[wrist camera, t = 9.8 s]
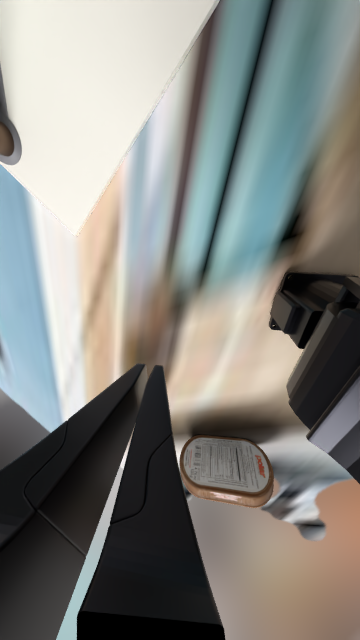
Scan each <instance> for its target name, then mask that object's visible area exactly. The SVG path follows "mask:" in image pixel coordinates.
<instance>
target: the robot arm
mask: <svg viewBox="0 0 360 640" xmlns="http://www.w3.org/2000/svg"><path fill="white" fill-rule="evenodd" d="M290 275H292V277H291V278H290V279H288V277H289V276H290ZM270 314H271V319H270V322H269V327H270V328H271V329H272V330H281V331H283V332H284V334H288V335H289V336H290V337H291V339H292V340H293V341H294V343H295V344H296V345H297V347H298V348H300V349H304V350H303V352H302V354H301V356H300V358H299V360H298V362H297V364H296V366H295V368H294V370H293V372H292V373H291V375H290V377H289V379H288V383H287V386H286V387H287V391H288V395H289V398H290V400H289V405H290V406H291V408H292V409H293V411H294V413H295V414H296V415H297V416H298V417H299V419H300V420H301V421H302V422H303V423H304V424H305V425H306V426H307V427H308V428H309V429H310V431H309V433H308V434H307V435H306V437H307V439H308V440H309V441H310V442H311V443H313V444H314V445H316V446H317V447H319V448H320V449H322V450H323V451H325V452H326V453H328V454H329V455H330V456H331V457H332V458H333V459H334V460H336V461H337V462H338V463H339V464H340V465H341V466H342V467H344V468H345V469H346V470H347V471H348V472H349V473H350V474H351V475H352V476H353V478H354V479H355V480H357V482H358V483H359V484H360V278H359V277H358V276H355V275H343V274H325V273H308V272H287V273H286V274H285V275H284V277H283V281H282V284H281V287H280V290H279V291H278V292H277V293H276V295H275V299H274V302H273V305H272V309H271V312H270ZM273 324H276V325H275V326H272V325H273ZM147 378H148V376H147V367H146V364H140V363H138V364H136V365H135V366H133V367H132V368H131V369H130V370H129V371H127V372H126V373H125V374H124V375H122V376H121V377H120V378H119V379H117V380H116V381H115V382H114V383H112V384H111V385H110V386H109V387H107V388H106V389H105V390H104V391H103V392H101V393H100V394H99V395H98V396H96V397H95V398H94V399H93V400H91V401H90V402H89V403H88V404H86V405H85V406H84V407H83V408H82V409H80V410H79V411H78V412H77V413H75V414H74V415H73V416H72V417H70V418H69V419H68V421H65V422H64V423H63V424H62V425H60V426H59V427H58V428H57V429H55V430H54V431H53V432H52V433H50V434H49V435H48V436H46V437H45V438H44V439H43V440H41V441H40V442H39V443H37V444H36V445H35V446H33V447H32V448H31V449H29V450H28V451H26V452H25V453H24V454H22V455H21V456H20V457H18V458H17V459H15V460H14V461H12V462H11V463H10V464H8V465H7V466H6V467H4V468H3V469H1V470H0V640H56V638H57V635H58V632H59V630H60V627H61V624H62V621H63V619H64V616H65V613H66V611H67V608H68V605H69V602H70V600H71V597H72V594H73V592H74V589H75V586H76V583H77V581H78V578H79V575H80V573H81V570H82V567H83V564H84V562H85V559H86V555H87V553H88V551H89V548H90V545H91V542H92V540H93V537H94V534H95V532H96V529H97V526H98V523H99V521H100V518H101V515H102V513H103V510H104V507H105V504H106V501H107V499H108V496H109V494H110V491H111V488H112V485H113V483H114V480H115V477H116V475H117V472H118V469H119V466H120V464H121V461H122V458H123V456H124V453H125V450H126V447H127V445H128V442H129V439H130V437H131V434H132V431H133V428H134V426H135V428H134V431H133V435H132V439H131V443H130V447H129V451H128V455H127V458H126V462H125V466H124V470H123V474H122V478H121V482H120V486H119V489H118V493H117V498H116V502H115V505H114V509H113V513H112V517H111V521H110V526H109V528H108V532H107V536H106V539H105V543H104V546H103V549H102V552H101V555H100V559H99V562H98V565H97V567H96V570H95V572H94V575H93V578H92V580H91V583H90V585H89V588H88V590H87V593H86V595H85V598H84V600H83V603H82V605H81V608H80V610H79V612H78V615H77V640H225V633H224V628H223V625H222V622H221V619H220V616H219V613H218V610H217V606H216V603H215V600H214V597H213V594H212V591H211V588H210V584H209V581H208V578H207V575H206V571H205V567H204V564H203V561H202V557H201V553H200V549H199V546H198V542H197V538H196V534H195V530H194V526H193V523H192V519H191V515H190V511H189V508H188V504H187V500H186V496H185V492H184V488H183V484H182V480H181V476H180V472H179V467H178V463H177V457H176V451H175V445H174V438H173V431H172V424H171V417H170V410H169V403H168V396H167V388H166V381H165V374H164V367H163V366H160V365H155V366H154V368H153V370H152V372H151V374H150V377H149V379H148V381H147ZM135 423H136V424H135Z"/></svg>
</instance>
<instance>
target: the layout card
mask: <svg viewBox="0 0 360 640" xmlns="http://www.w3.org/2000/svg"><path fill="white" fill-rule="evenodd" d="M219 1H220V0H0V121H1V122H3V123H4V124H5V125H6V126H7V127H8V129H9V130H10V132H11V134H12V137H13V140H14V152H13V154H12V155H11V156H8V157H7V156H3V155H0V164H1V165H2V166H3V167H4V168H5V169H6V170H7V171H8V172H10V173H11V174H12V175H13V176H14V177H15V178H16V179H17V180H18V181H19V182H20V183H21V184H22V185H23V186H24V187H25V188H26V189H27V190H28V191H29V192H30V193H31V194H32V195H33V196H34V197H35V198H36V199H37V200H38V201H39V202H40V203H41V204H42V205H43V206H44V207H45V208H46V209H47V210H48V211H49V212H50V213H51V214H52V215H53V216H54V217H55V218H56V219H57V220H59V221H60V222H61V223H62V224H63V225H64V226H65V227H66V228H67V229H68V230H69V231H70V232H71V233H72V234H73V235H74V236H75V237H78V235H79V233H80V232H81V230H82V228H83V227H84V225H85V223H86V222H87V220H88V218H89V217H90V215H91V213H92V212H93V210H94V208H95V207H96V205H97V203H98V202H99V200H100V198H101V197H102V195H103V193H104V192H105V190H106V189H107V187H108V185H109V184H110V182H111V180H112V179H113V177H114V175H115V174H116V172H117V170H118V169H119V167H120V165H121V164H122V162H123V160H124V159H125V157H126V155H127V154H128V152H129V150H130V149H131V147H132V145H133V144H134V142H135V140H136V139H137V137H138V136H139V134H140V132H141V131H142V129H143V127H144V126H145V124H146V122H147V121H148V119H149V117H150V116H151V114H152V112H153V111H154V109H155V107H156V106H157V104H158V102H159V101H160V99H161V97H162V96H163V94H164V92H165V91H166V89H167V87H168V86H169V84H170V82H171V81H172V79H173V78H174V76H175V74H176V73H177V71H178V69H179V68H180V66H181V64H182V63H183V61H184V59H185V58H186V56H187V54H188V53H189V51H190V49H191V48H192V46H193V44H194V43H195V41H196V39H197V38H198V36H199V34H200V33H201V31H202V29H203V28H204V26H205V25H206V23H207V21H208V20H209V18H210V16H211V15H212V13H213V11H214V10H215V8H216V6H217V5H218V3H219Z"/></svg>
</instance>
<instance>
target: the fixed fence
mask: <svg viewBox="0 0 360 640" xmlns="http://www.w3.org/2000/svg"><path fill="white" fill-rule="evenodd" d="M13 152H14V140H13V137H12V134H11V132H10V130H9V129H8V127H7V126H6V125H5V124H4V123H3V122H1V121H0V155H3V156H7V157H8V156H11V155H12V154H13Z"/></svg>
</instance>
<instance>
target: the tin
mask: <svg viewBox="0 0 360 640" xmlns="http://www.w3.org/2000/svg"><path fill="white" fill-rule="evenodd" d="M180 471H181V477H182V480H183V483H184V485H185V486H186V488H187V489H188V490H189V492H190V493H192V494H193V495H194V496H196V497H198V498H201V499H207V500H213V501H218V502H224V503H229V504H234V505H240V506H245V507H251V508H257V507H261V506H263V505H265V504H266V503H267V502H268V501H269V500H270V498H271V496H272V492H273V481H274V475H273V469H272V466H271V463H270V461H269V459H268V457H267V456H266V454H265V453H264V451H263V450H262V449H261V448H260V447H259V446H257V445H256V444H255V443H253V442H251V441H249V440H246V439H241V438H230V437H220V436H210V435H197V436H194V437H192V438H191V439H189V440H188V441H187V442H186V443H185V445H184V447H183V449H182V451H181V455H180Z"/></svg>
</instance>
